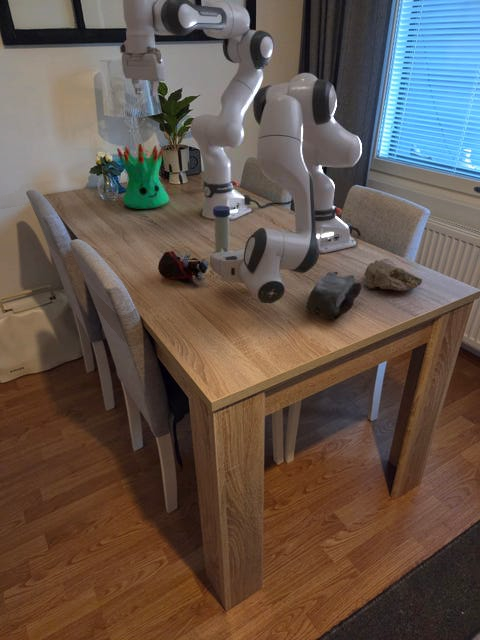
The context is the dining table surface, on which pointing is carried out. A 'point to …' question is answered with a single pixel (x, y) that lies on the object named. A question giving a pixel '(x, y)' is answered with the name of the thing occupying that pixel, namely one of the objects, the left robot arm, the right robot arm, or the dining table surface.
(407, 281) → the artifact
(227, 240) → the pale green cylinder
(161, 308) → the dining table surface
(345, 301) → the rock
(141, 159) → the toy
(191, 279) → the toy
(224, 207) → the lid
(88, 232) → the dining table surface
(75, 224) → the dining table surface
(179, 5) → the left robot arm
